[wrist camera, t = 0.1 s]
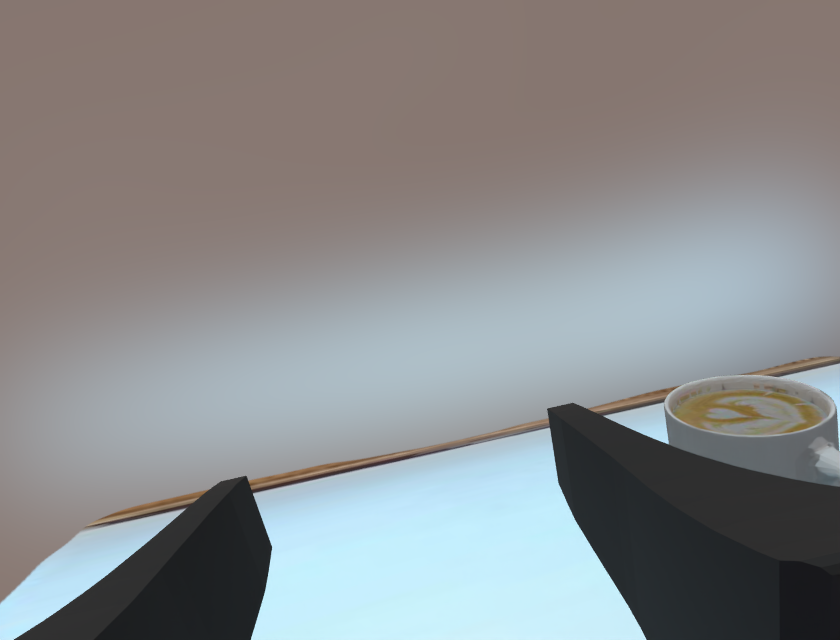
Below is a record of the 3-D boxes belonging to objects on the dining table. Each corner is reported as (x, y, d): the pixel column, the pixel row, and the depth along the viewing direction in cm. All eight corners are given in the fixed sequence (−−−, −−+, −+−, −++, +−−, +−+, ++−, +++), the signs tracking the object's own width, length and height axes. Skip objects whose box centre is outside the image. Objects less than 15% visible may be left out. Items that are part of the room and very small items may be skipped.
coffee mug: (652, 508, 40) (636, 397, 38) (759, 475, 41) (749, 364, 39) (797, 640, 27) (785, 482, 25) (949, 586, 28) (949, 430, 26)
